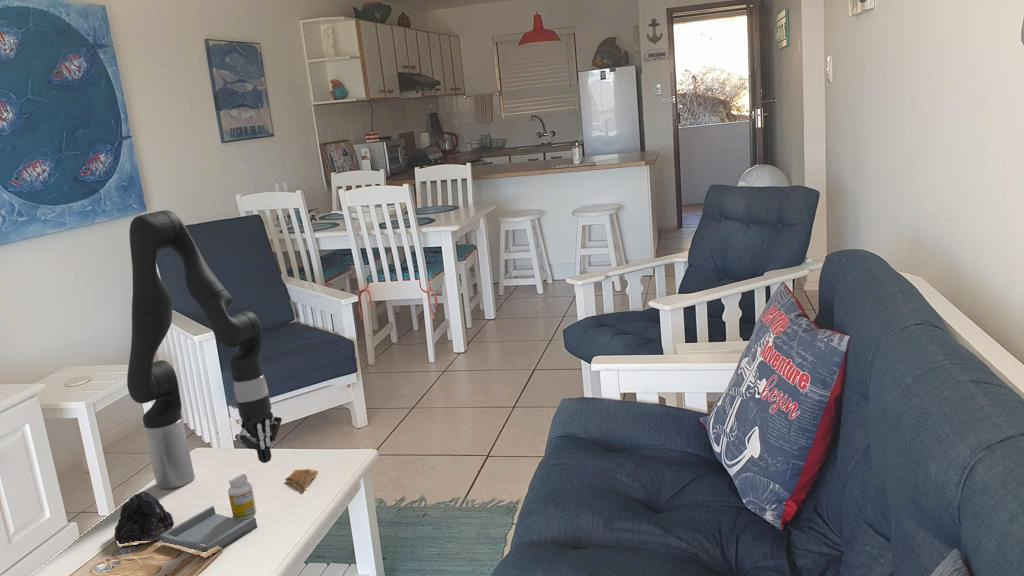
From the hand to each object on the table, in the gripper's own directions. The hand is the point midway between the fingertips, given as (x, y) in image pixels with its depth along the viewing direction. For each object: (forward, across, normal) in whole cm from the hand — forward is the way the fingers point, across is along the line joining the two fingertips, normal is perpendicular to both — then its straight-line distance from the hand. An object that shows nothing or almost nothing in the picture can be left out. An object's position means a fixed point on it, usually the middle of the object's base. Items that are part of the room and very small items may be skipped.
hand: (265, 461), depth 193 cm
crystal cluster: (+10, +24, -17) cm, 31 cm away
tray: (+10, +18, 0) cm, 21 cm away
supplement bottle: (+10, +8, 0) cm, 13 cm away
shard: (+11, -10, +1) cm, 15 cm away
